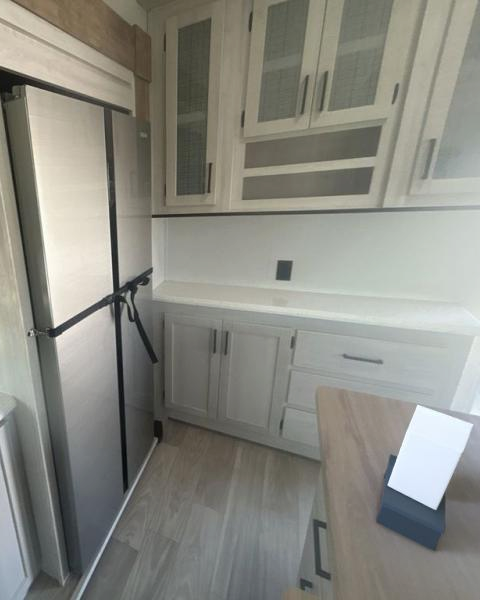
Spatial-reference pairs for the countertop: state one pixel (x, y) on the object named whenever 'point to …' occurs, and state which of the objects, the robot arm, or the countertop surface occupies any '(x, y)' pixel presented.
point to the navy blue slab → (410, 514)
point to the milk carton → (429, 455)
